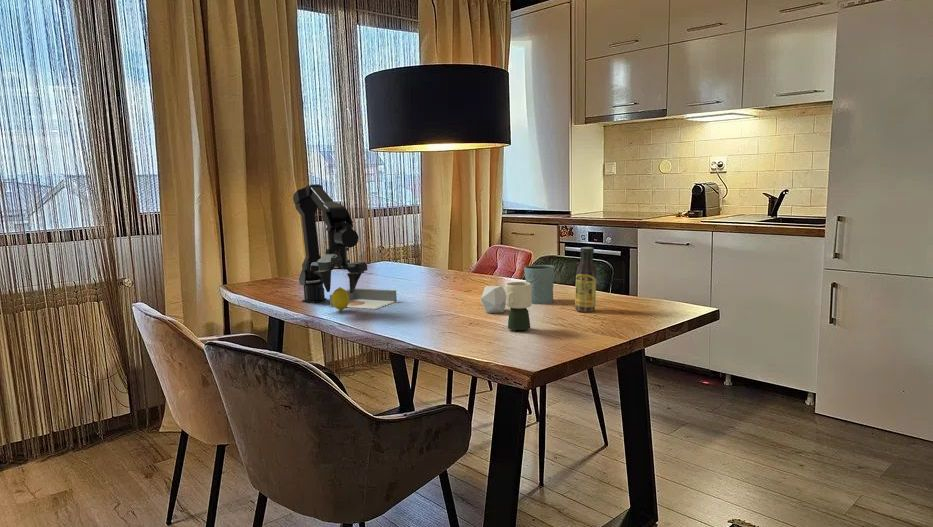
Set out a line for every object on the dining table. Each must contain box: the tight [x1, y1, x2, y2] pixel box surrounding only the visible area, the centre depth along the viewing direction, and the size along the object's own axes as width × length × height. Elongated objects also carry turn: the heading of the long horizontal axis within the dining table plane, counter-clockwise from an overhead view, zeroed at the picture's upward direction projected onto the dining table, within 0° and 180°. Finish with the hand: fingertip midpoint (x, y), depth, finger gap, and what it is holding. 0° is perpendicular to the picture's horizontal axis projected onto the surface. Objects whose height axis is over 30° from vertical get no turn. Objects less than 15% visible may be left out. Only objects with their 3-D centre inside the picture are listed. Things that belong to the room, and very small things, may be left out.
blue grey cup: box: [523, 264, 555, 305], centre depth 209 cm, size 10×10×12 cm
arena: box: [329, 287, 398, 310], centre depth 214 cm, size 18×14×4 cm
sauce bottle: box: [574, 246, 597, 313], centre depth 192 cm, size 6×6×20 cm
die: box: [480, 285, 507, 314], centre depth 195 cm, size 8×9×10 cm
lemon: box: [331, 286, 349, 312], centre depth 203 cm, size 6×6×8 cm
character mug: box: [504, 281, 533, 332], centre depth 171 cm, size 11×7×13 cm, turn 147°
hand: (340, 292), depth 203 cm, fingers open, 9 cm apart
